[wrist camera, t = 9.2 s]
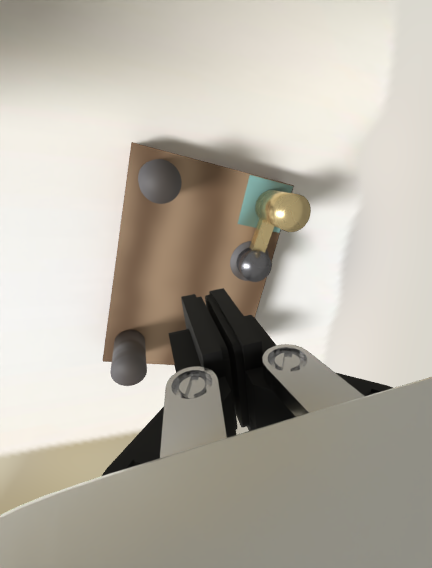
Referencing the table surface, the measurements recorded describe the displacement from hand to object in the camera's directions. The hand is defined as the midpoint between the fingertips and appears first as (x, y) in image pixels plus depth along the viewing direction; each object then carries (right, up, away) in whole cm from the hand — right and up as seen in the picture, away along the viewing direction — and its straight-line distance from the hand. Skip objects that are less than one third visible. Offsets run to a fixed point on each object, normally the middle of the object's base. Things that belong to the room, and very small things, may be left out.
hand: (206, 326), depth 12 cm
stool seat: (-2, +4, +22) cm, 23 cm away
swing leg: (+5, +7, +19) cm, 21 cm away
